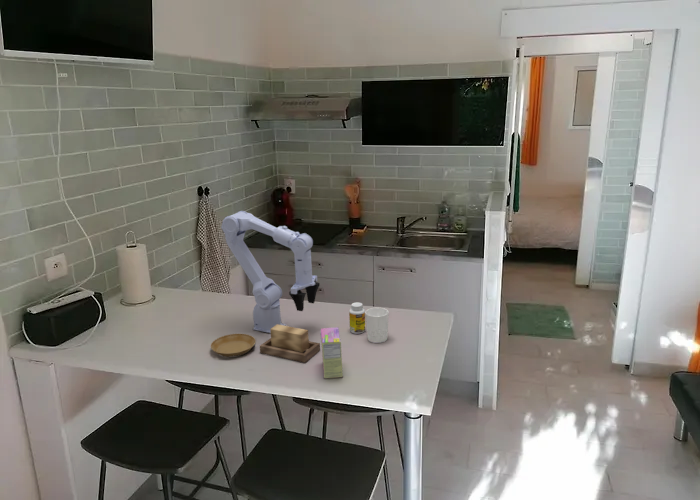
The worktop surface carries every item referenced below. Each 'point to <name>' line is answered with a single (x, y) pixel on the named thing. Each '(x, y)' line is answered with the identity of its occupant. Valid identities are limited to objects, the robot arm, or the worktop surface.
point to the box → (331, 352)
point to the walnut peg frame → (290, 351)
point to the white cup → (377, 324)
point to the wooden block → (289, 338)
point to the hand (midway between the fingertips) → (305, 306)
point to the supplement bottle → (357, 318)
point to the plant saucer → (233, 345)
